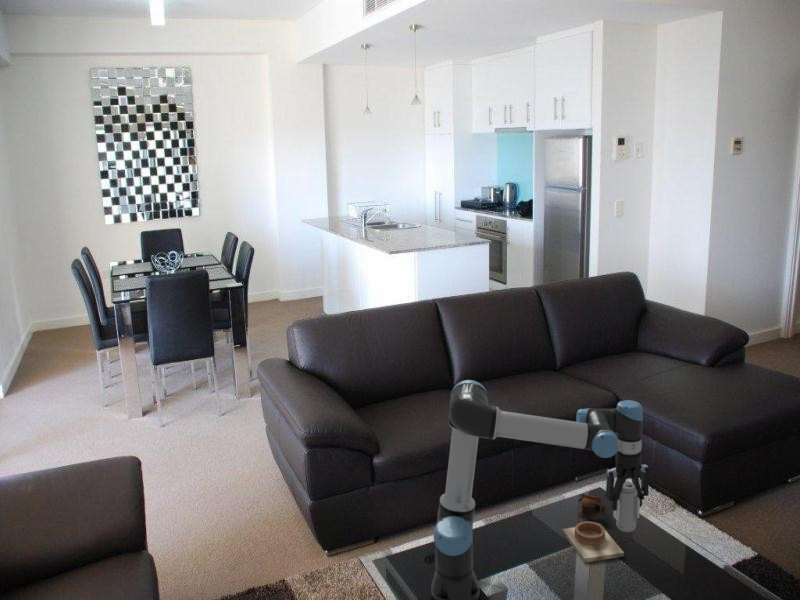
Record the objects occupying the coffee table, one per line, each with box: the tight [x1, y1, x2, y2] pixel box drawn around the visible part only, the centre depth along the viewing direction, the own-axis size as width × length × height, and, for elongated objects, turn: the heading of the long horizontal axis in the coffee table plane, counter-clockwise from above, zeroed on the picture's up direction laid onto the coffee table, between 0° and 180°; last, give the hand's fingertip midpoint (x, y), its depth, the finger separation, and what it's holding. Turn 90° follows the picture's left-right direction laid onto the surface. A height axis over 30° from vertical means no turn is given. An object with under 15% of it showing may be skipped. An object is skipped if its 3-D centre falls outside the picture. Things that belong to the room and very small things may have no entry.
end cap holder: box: [562, 520, 625, 563], centre depth 236 cm, size 14×18×4 cm
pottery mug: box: [578, 493, 606, 520], centre depth 255 cm, size 12×10×8 cm
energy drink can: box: [615, 481, 637, 533], centre depth 217 cm, size 6×6×15 cm
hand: (626, 517), depth 218 cm, fingers closed on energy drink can, 6 cm apart
